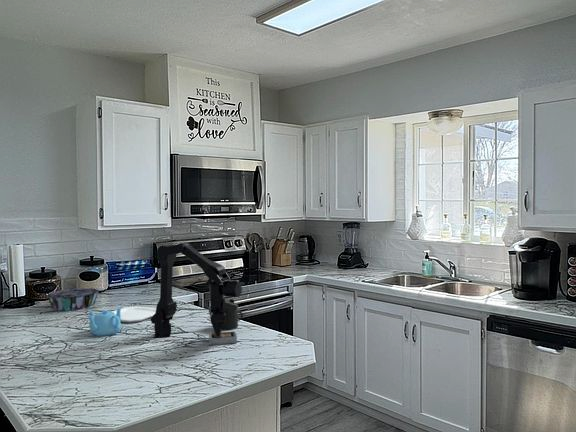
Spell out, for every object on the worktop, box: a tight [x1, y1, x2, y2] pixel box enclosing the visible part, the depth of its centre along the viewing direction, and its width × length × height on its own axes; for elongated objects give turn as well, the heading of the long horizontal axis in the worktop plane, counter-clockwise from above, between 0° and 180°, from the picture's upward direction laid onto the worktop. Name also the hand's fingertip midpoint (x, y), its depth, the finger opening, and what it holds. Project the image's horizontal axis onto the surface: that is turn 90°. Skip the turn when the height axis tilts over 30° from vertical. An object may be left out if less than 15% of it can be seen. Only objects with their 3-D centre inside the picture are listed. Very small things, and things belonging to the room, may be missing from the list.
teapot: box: [86, 305, 123, 337], centre depth 208 cm, size 15×15×10 cm
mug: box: [221, 307, 244, 331], centre depth 214 cm, size 9×12×9 cm
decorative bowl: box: [46, 287, 100, 312], centre depth 260 cm, size 26×28×10 cm
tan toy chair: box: [213, 330, 231, 338], centre depth 193 cm, size 7×4×7 cm, turn 102°
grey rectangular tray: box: [208, 331, 238, 346], centre depth 193 cm, size 11×8×2 cm
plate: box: [111, 305, 156, 324], centre depth 237 cm, size 25×25×2 cm
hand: (217, 333), depth 192 cm, fingers open, 9 cm apart
